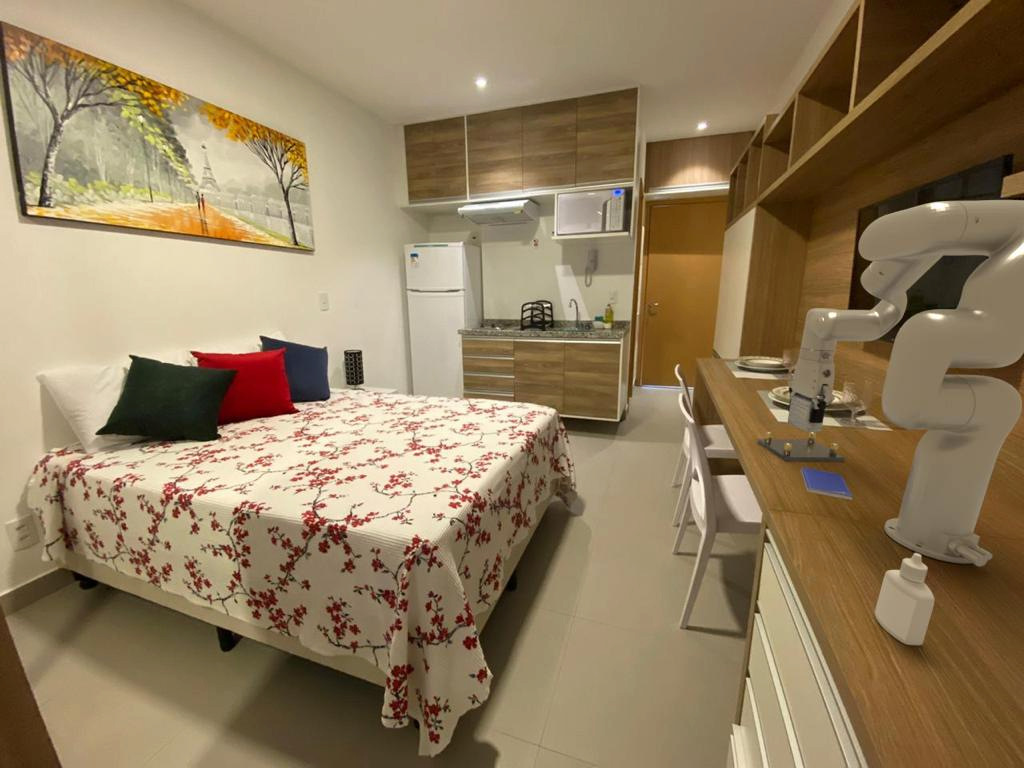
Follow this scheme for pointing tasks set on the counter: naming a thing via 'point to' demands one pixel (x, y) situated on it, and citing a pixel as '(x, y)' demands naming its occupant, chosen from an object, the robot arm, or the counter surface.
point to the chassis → (801, 449)
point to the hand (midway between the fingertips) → (804, 416)
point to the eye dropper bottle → (906, 602)
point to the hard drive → (825, 483)
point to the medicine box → (802, 414)
